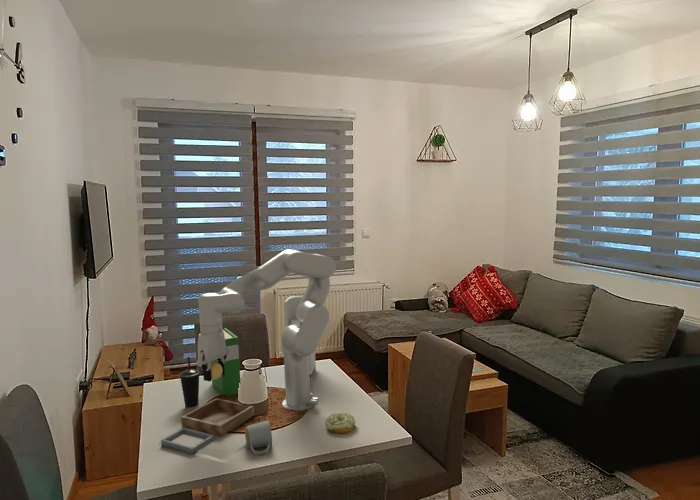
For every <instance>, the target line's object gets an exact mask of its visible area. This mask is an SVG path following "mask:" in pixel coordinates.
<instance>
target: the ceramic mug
mask: <svg viewBox="0 0 700 500" xmlns="http://www.w3.org/2000/svg"><path fill="white" fill-rule="evenodd" d="M271 427H272V426H271V423H270V421H269V420H265V421H261V422H258V423H253V424H250V425H247V426H245V427H244V435H245V442H246V447H247V448H248V449H251V452H252V453H253V454H254V455H256V456H263V455H266V454H268V452H269V450H270V447H271V446H272V445H273V435H272V429H271ZM263 447H266V449H264V450H263V451H262V450H261V451H258V450H255V449H256V448H263Z"/></svg>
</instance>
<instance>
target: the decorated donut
mask: <svg viewBox="0 0 700 500" xmlns="http://www.w3.org/2000/svg"><path fill="white" fill-rule="evenodd" d="M324 423H325V427H326V428H327V429H328V430H329V431H330V432H332V433H333V434H342V435H343V434H346V433H349V432H351V431H352V430H353V428H354V427H355V424H356V418H355V417H354V416H353V415H352V414H350V413H347V412H339V413H338V412H337V413H336V412H335V413H331V414H329V415H328V416H327V417H326V418H325V419H324Z"/></svg>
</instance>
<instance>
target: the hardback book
mask: <svg viewBox="0 0 700 500" xmlns="http://www.w3.org/2000/svg"><path fill="white" fill-rule="evenodd" d="M222 330H223V332H224V336H225V342H226V348H227V349H228V350H229V353H228V355H227V358H226V360H225V364H224V371H225V374H224V375H221V376H220V377H219V378H218V379H215V380H211V384H212V386H213V387H214V388H215V390H217V392H218V393H219V394H220V395H222V396H223V397H224V396H230V397H231V396H236V395H239V394H238V388H239V383H240V384H241V371H240V355H239V354H240V352H239V351H240V350H239V349H240V348H239V337H238V336H237V335H236V334H234V333H233V332H232V331H231V330H229V329H227V327H224V328H223V329H222ZM214 362H215V363H218V362H217V360H214V361H212V362H211V363H214Z"/></svg>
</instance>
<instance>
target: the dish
mask: <svg viewBox="0 0 700 500" xmlns="http://www.w3.org/2000/svg"><path fill="white" fill-rule="evenodd" d="M182 434H188V435H193V436H197V437H200V438H204V439H203V440H202V441H200V442H198V443H197V444H195V445H194V446H190V445H185V444H182V443H179V442H178V443H177V442H174V441H171V440H173V439H175V438H176V437H178V436H180V435H182ZM213 440H215V435H212V434H208V433H204V432H200V431H196V430H192V429H188V428H184V427H181V428H180V429H178V430H177V431H175V432H174V433H171V434H170V435H168V436H166V437H164V438H163V439H161V440H160V442H161V443H160V446H161V447H163V448H167V449H171V450H174V451H178V452H180V453H181V452H182V453H184V454H189V455H192V456H193V455H195V454H197V453H198V451H197V450H199V449H201V448H202V447H204V446H206V445H208V444H209V443H210V442H212V441H213Z"/></svg>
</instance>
